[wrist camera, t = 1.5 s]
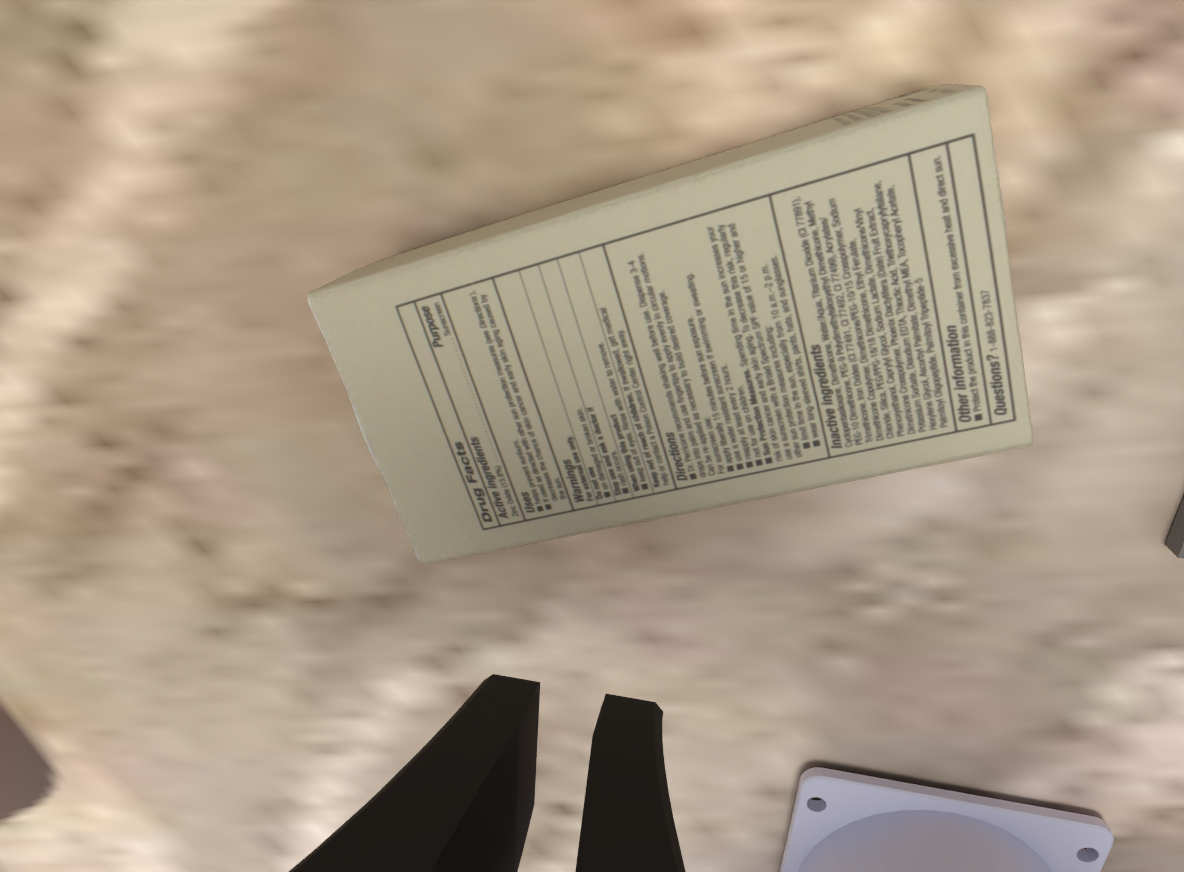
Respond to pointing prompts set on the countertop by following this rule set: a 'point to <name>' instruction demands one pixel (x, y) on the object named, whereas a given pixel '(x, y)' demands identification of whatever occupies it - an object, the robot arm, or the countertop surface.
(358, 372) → the skincare box
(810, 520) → the countertop surface
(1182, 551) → the mat
